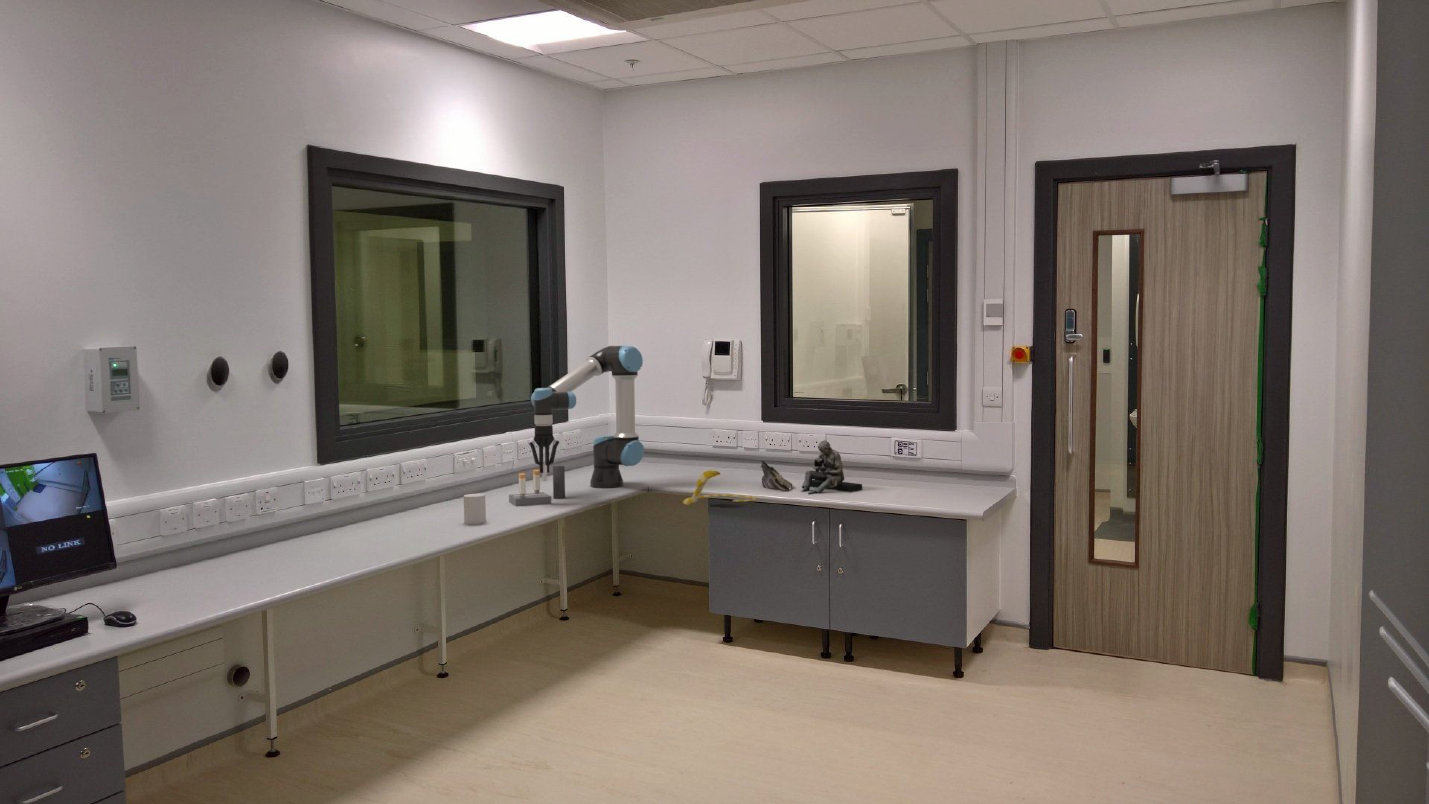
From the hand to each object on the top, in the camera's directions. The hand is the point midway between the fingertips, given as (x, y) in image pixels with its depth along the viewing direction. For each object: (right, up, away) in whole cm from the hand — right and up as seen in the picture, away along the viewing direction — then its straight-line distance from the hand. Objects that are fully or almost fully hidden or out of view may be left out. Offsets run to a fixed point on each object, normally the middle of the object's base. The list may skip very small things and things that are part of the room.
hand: (544, 480), depth 422 cm
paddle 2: (-5, -5, +7) cm, 10 cm away
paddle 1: (-9, -6, -3) cm, 11 cm away
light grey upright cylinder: (-21, -15, -35) cm, 44 cm away
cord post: (+4, -9, +12) cm, 16 cm away
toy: (+73, -10, -2) cm, 74 cm away
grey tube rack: (-7, -9, +2) cm, 12 cm away
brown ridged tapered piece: (+93, 0, +18) cm, 95 cm away
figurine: (+119, -8, +18) cm, 121 cm away
